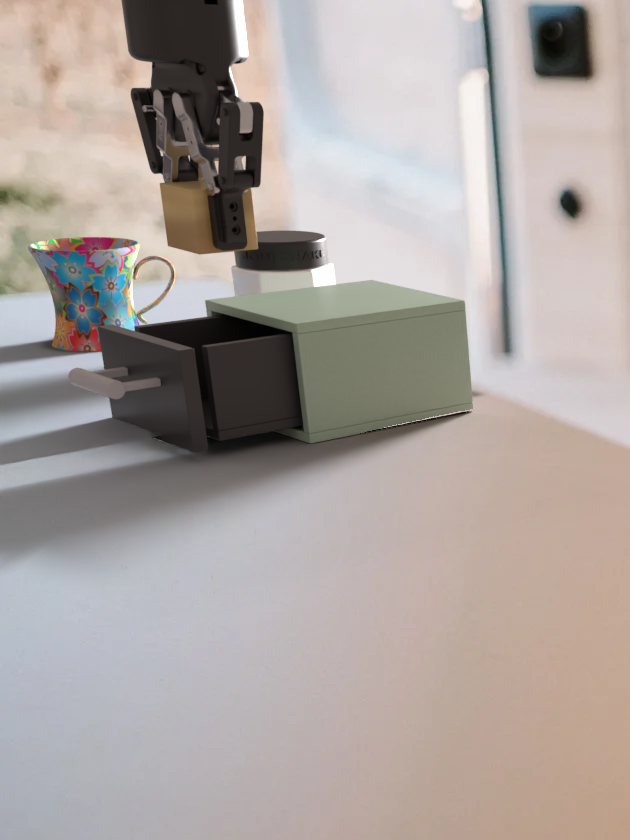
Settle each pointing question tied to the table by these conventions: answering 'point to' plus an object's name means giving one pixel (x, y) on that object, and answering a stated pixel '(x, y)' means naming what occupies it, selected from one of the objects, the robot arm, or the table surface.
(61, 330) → the mug
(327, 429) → the green drawer cabinet
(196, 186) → the block
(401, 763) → the table surface
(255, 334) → the dark drawer with handle
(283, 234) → the jar
